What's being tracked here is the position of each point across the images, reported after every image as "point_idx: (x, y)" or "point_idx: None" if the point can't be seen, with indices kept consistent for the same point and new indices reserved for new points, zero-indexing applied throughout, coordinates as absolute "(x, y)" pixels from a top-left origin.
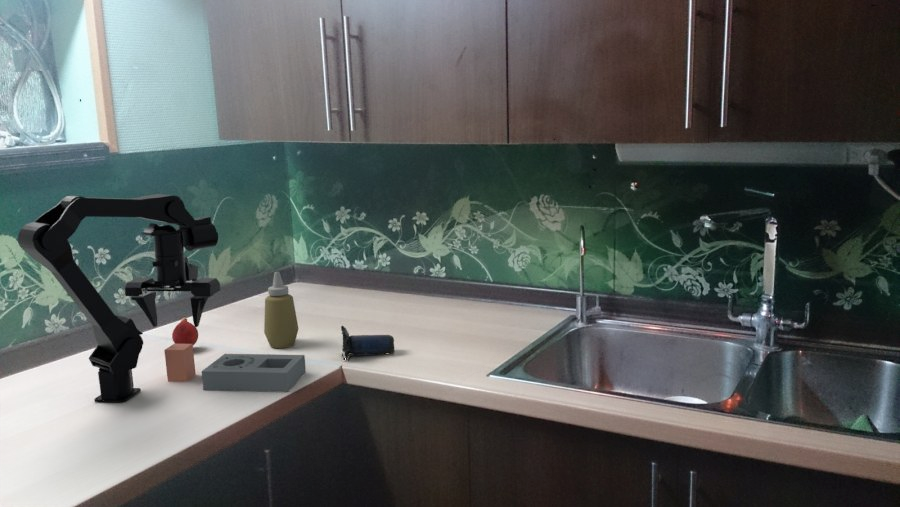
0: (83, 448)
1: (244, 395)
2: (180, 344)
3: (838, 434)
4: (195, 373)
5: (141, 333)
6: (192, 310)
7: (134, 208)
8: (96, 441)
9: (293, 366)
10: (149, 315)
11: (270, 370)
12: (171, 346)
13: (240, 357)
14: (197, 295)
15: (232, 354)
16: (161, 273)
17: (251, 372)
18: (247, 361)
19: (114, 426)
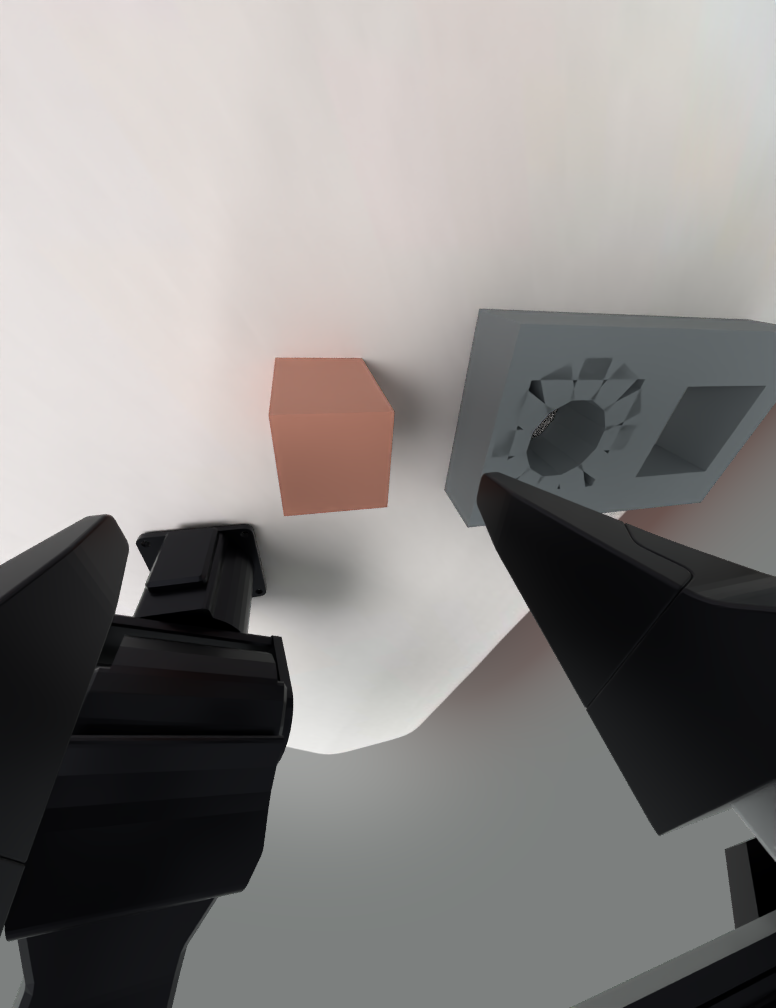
0: (333, 698)
1: None
2: (323, 428)
3: None
4: (363, 361)
5: (280, 742)
6: (561, 656)
7: None
8: (338, 684)
9: (736, 451)
10: (76, 691)
11: (666, 493)
12: (288, 466)
13: (592, 379)
14: (761, 855)
15: (558, 335)
16: None
17: (614, 511)
18: (614, 424)
19: (332, 654)
